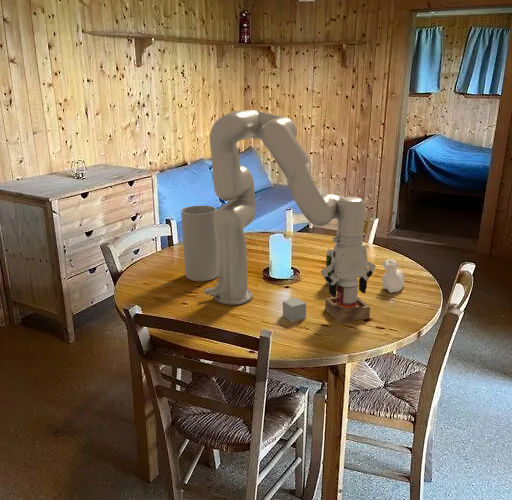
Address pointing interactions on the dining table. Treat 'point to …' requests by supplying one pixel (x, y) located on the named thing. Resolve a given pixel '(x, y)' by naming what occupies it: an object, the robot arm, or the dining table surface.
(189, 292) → the dining table surface
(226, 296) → the robot arm
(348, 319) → the brown square tray
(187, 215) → the cylinder vase
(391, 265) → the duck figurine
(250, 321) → the dining table surface
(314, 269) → the dining table surface
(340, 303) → the pill bottle
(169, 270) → the dining table surface
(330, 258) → the beer can
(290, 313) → the grey cube
